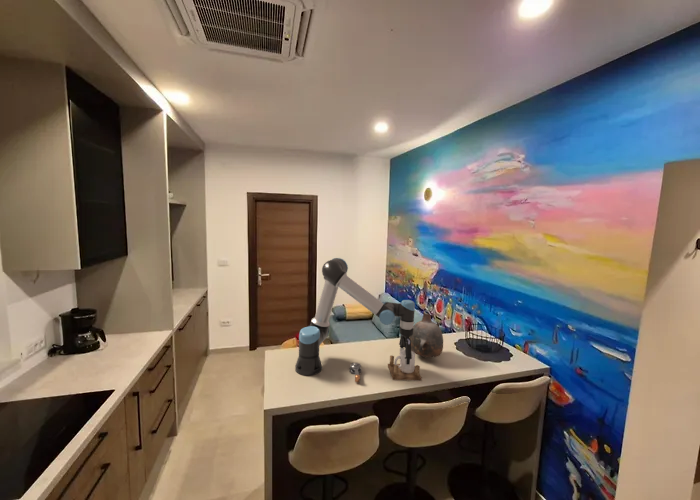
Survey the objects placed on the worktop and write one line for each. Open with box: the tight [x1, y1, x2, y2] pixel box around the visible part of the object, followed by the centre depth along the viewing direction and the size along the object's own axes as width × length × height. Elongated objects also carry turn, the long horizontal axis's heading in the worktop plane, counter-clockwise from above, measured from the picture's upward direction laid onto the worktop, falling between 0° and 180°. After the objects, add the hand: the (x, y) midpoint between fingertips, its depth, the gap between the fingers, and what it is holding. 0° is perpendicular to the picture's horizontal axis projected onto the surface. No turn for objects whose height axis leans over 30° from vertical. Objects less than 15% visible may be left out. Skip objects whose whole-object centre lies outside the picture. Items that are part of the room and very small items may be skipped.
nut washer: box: [349, 368, 362, 375], centre depth 175 cm, size 7×7×1 cm
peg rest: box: [387, 354, 422, 381], centre depth 176 cm, size 16×16×7 cm
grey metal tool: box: [349, 362, 362, 383], centre depth 170 cm, size 6×17×4 cm, turn 3°
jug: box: [409, 311, 444, 358], centre depth 197 cm, size 24×21×30 cm
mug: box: [394, 350, 416, 373], centre depth 175 cm, size 12×8×10 cm
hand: (404, 363), depth 176 cm, fingers open, 12 cm apart
